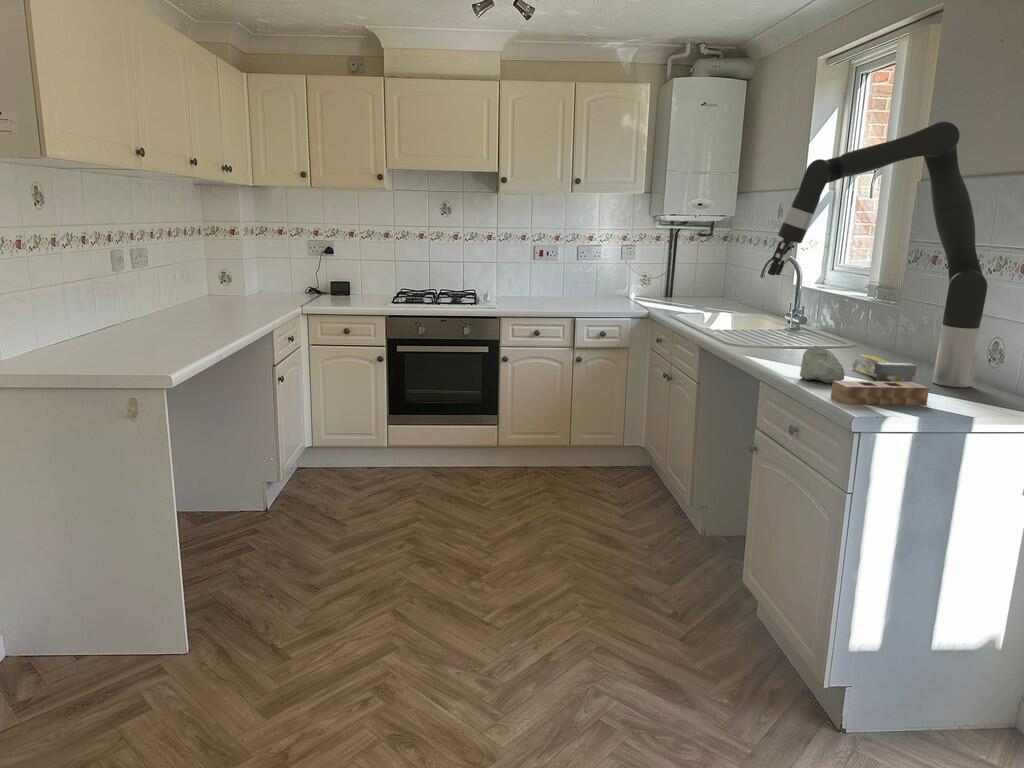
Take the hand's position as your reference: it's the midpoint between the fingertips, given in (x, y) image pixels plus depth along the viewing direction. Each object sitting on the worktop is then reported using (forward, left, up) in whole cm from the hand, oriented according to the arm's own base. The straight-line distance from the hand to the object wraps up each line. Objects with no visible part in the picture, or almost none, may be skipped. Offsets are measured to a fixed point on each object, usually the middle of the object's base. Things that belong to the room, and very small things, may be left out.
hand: (773, 274), depth 226 cm
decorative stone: (-6, +25, -29) cm, 39 cm away
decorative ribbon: (-28, +22, -29) cm, 46 cm away
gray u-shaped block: (-20, +38, -29) cm, 52 cm away
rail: (-10, +48, -29) cm, 57 cm away
